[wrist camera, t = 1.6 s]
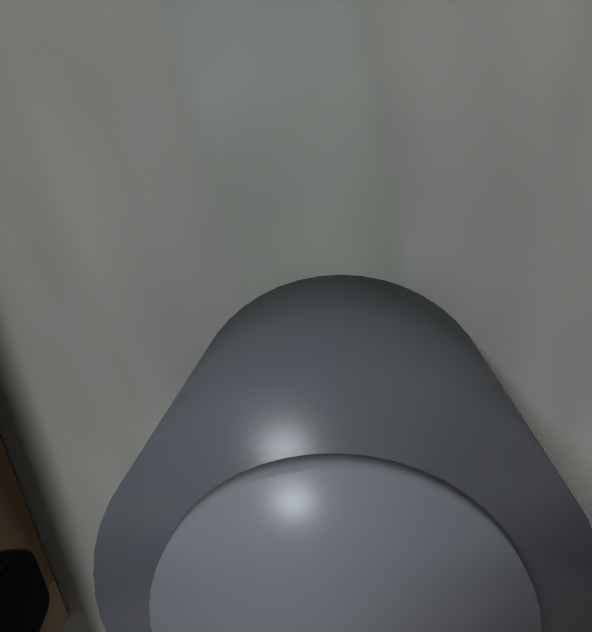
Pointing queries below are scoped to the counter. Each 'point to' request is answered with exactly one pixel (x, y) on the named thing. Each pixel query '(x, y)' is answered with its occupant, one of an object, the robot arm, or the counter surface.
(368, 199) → the counter surface
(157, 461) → the cap
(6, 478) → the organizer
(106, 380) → the counter surface
